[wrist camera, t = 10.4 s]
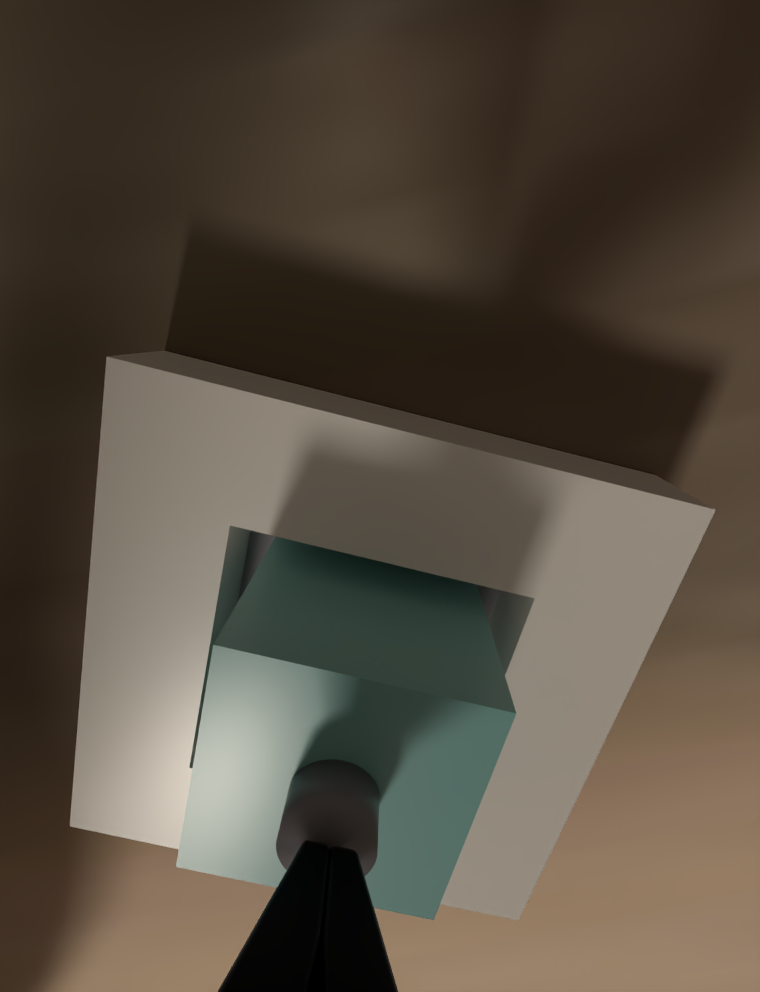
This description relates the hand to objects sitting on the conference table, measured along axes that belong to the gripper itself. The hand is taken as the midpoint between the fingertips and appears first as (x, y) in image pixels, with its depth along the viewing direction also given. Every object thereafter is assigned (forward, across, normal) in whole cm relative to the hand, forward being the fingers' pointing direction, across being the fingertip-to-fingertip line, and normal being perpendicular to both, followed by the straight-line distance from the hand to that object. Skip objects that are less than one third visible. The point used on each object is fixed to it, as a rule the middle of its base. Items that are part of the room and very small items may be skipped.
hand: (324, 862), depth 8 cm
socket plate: (+6, 0, 0) cm, 6 cm away
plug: (+6, 0, 0) cm, 6 cm away
